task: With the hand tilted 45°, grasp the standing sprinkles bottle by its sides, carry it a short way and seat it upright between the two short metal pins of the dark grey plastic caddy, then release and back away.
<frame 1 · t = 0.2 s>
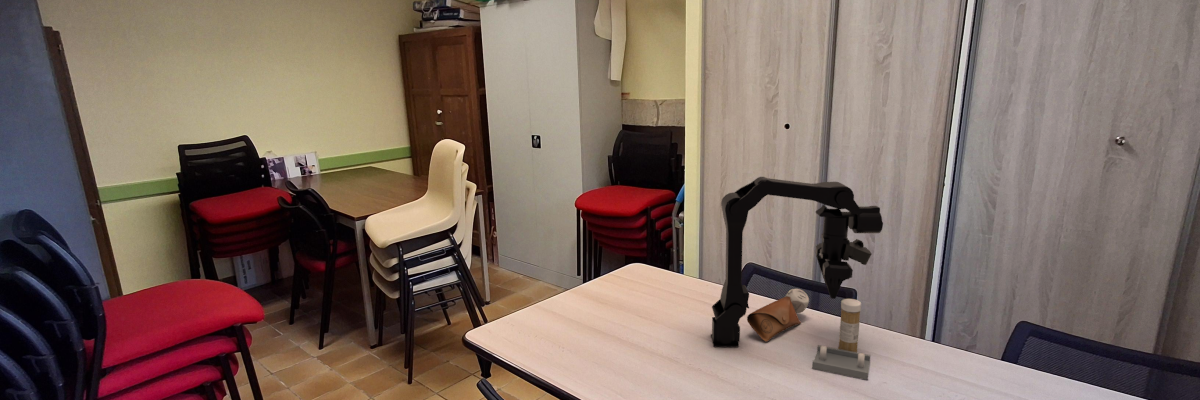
hand: (830, 291, 144), 14 cm above the table, tool pointing down, fingers open, 9 cm apart
die: (790, 306, 163), point 3 cm above the table, touching sunglasses case
caddy: (841, 365, 136), on the table
sprinkles bottle: (847, 351, 142), on the table
sunglasses case: (773, 321, 155), point 2 cm above the table, touching die
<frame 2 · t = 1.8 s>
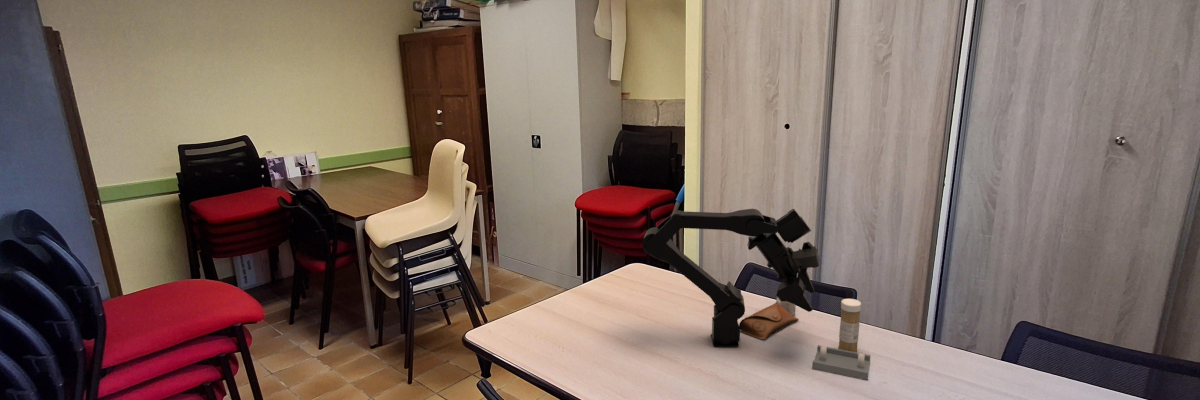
hand: (811, 301, 142), 13 cm above the table, tool tilted 35°, fingers open, 9 cm apart
die: (785, 313, 166), on the table, touching sunglasses case
sunglasses case: (769, 326, 157), on the table, touching die
everything else where it was.
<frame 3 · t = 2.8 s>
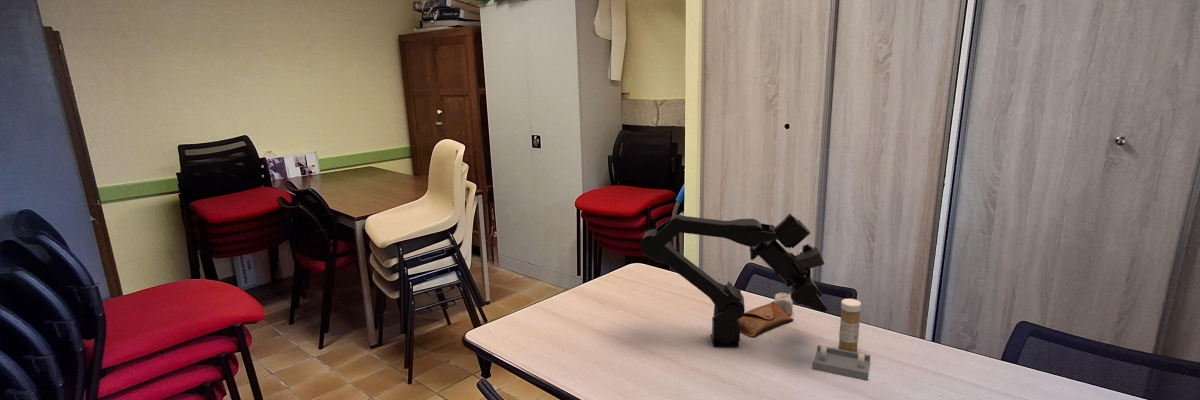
hand: (823, 303, 141), 13 cm above the table, tool tilted 45°, fingers open, 9 cm apart
sunglasses case: (762, 324, 159), on the table, touching die
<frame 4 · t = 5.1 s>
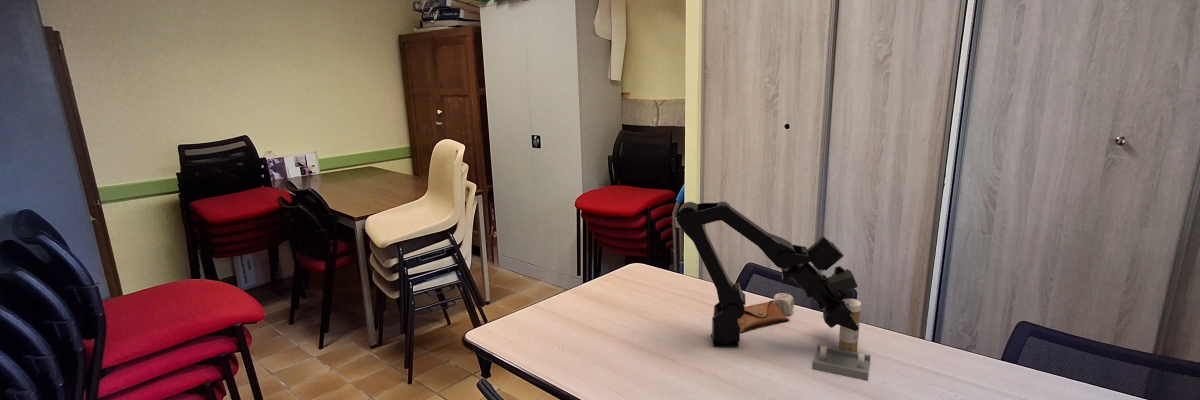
hand: (855, 325, 140), 7 cm above the table, tool tilted 45°, fingers closed on sprinkles bottle, 4 cm apart
sprinkles bottle: (847, 351, 142), on the table, touching gripper
sunglasses case: (756, 322, 160), on the table, touching die
everything else where it was.
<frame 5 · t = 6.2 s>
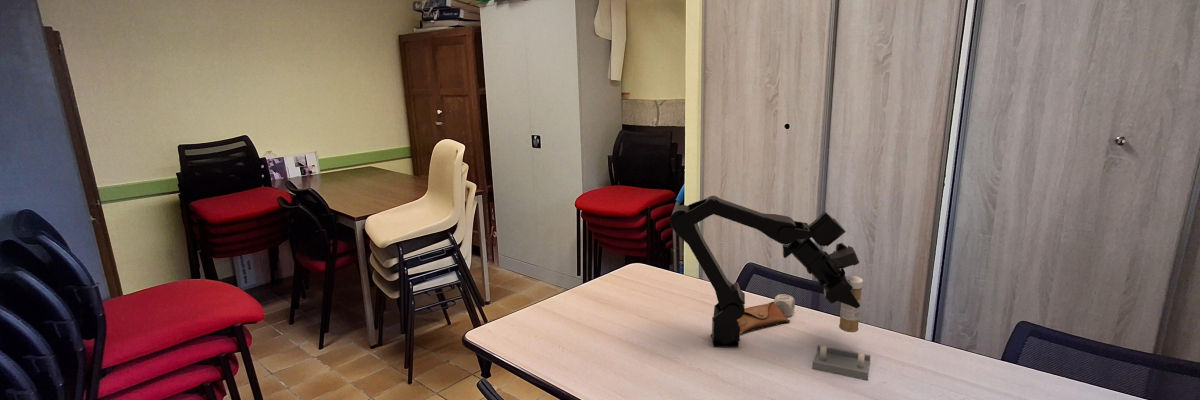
hand: (856, 303, 139), 13 cm above the table, tool tilted 45°, fingers closed on sprinkles bottle, 4 cm apart
sprinkles bottle: (848, 329, 141), point 6 cm above the table, touching gripper
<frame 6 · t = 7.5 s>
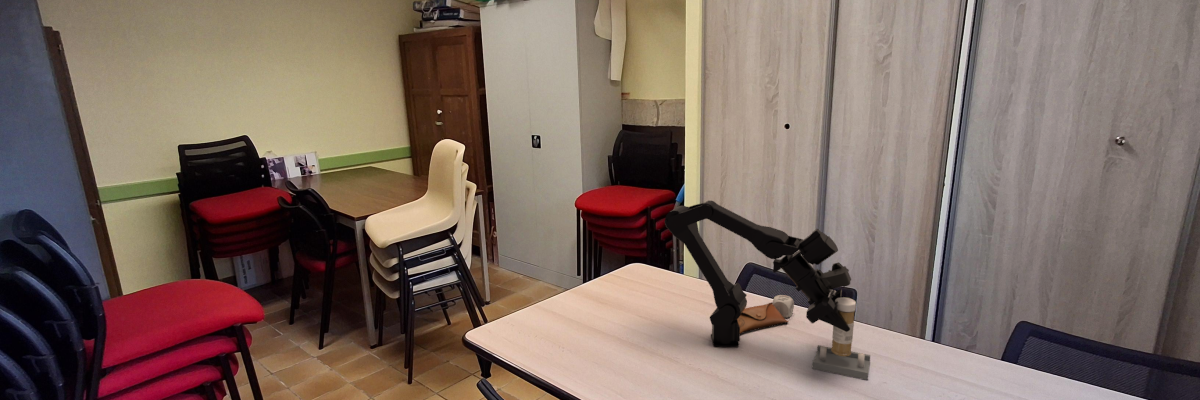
hand: (849, 326, 133), 10 cm above the table, tool tilted 45°, fingers closed on sprinkles bottle, 4 cm apart
die: (782, 314, 164), on the table, touching sunglasses case
sprinkles bottle: (840, 353, 135), point 3 cm above the table, touching gripper
sunglasses case: (755, 324, 159), on the table, touching die
when the fingers open (8 cm above the table, at t = 8.3 s): sprinkles bottle stays where it is, resting on caddy.
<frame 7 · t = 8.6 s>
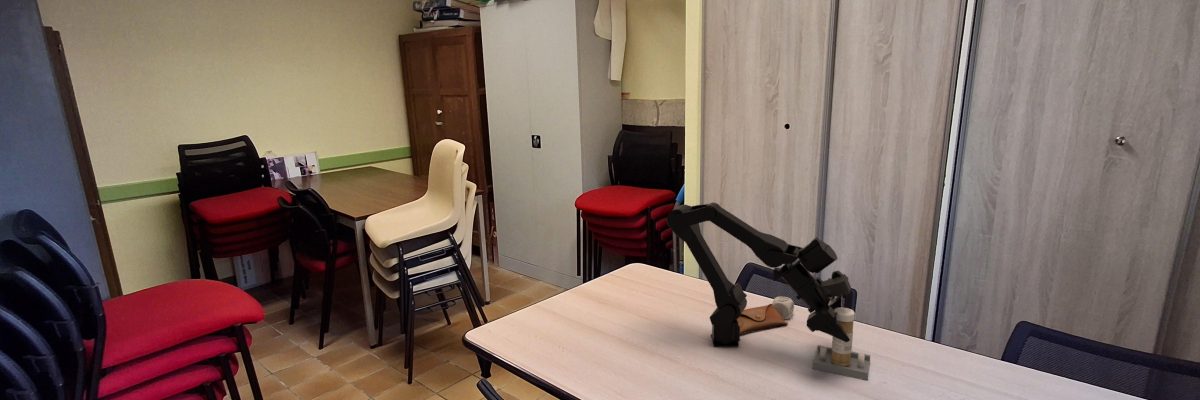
hand: (849, 334, 133), 8 cm above the table, tool tilted 45°, fingers open, 7 cm apart
die: (782, 316, 163), on the table, touching sunglasses case
sprinkles bottle: (840, 363, 136), resting on caddy
sunglasses case: (754, 325, 158), on the table, touching arm, die
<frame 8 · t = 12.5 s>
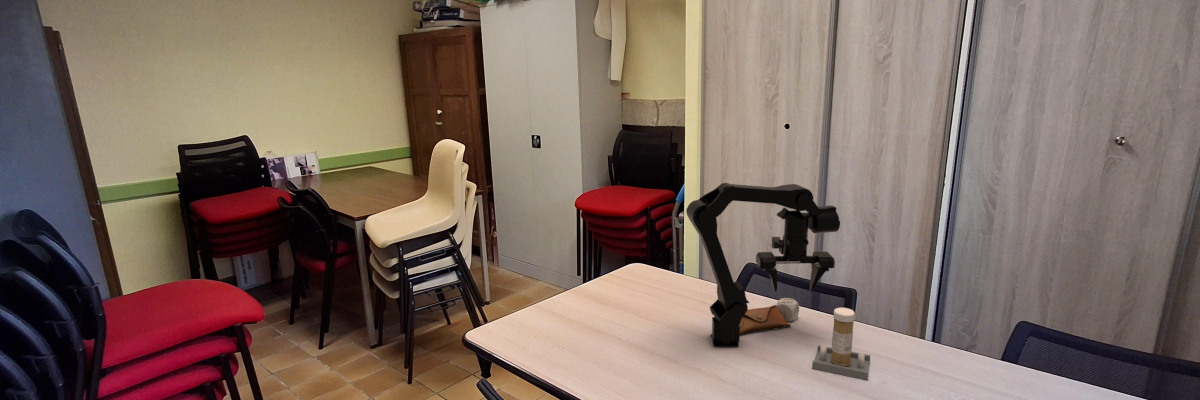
hand: (793, 290, 148), 13 cm above the table, tool pointing down, fingers open, 9 cm apart
die: (787, 318, 162), on the table, touching sunglasses case
sunglasses case: (756, 326, 158), on the table, touching die
everything else where it was.
at the end: sprinkles bottle 0.2 cm off-centre on the caddy, point 0.4 cm above the caddy's base; sprinkles bottle tilted 0°; the gripper is holding nothing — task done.
